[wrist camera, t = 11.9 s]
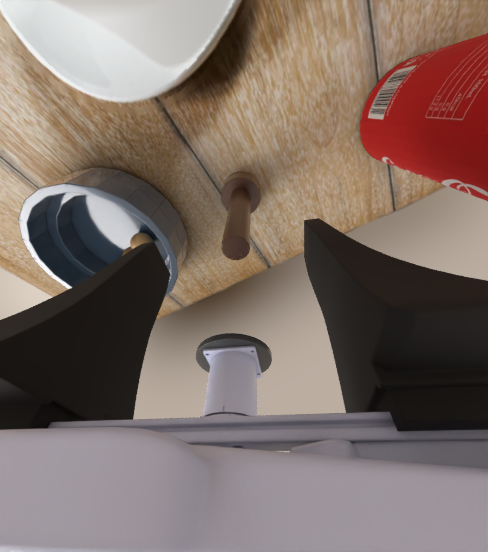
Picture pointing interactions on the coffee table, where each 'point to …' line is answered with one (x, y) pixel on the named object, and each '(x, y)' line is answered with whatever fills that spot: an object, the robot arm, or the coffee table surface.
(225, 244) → the muddler
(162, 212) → the bowl
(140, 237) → the bead
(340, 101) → the coffee table surface
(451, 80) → the beverage can
